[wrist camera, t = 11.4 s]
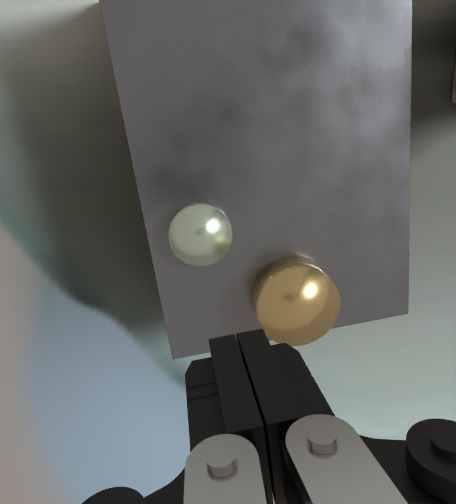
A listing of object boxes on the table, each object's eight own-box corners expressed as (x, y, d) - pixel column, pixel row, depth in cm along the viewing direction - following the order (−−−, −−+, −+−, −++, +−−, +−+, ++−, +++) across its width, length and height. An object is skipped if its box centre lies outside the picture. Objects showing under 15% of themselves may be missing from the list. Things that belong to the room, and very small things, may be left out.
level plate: (95, -33, 20) (81, -62, 17) (397, -64, 22) (438, -97, 19) (172, 347, 28) (173, 378, 24) (396, 304, 29) (426, 327, 26)
